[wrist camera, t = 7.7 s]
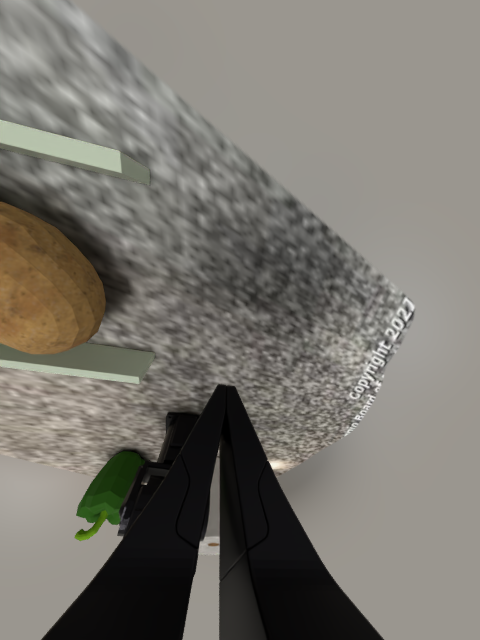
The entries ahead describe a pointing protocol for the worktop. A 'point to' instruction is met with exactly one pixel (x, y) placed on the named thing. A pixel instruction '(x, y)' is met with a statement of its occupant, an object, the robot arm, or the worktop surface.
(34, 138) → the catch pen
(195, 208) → the worktop surface
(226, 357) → the worktop surface
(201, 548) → the toilet tissue
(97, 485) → the bell pepper
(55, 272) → the potato
